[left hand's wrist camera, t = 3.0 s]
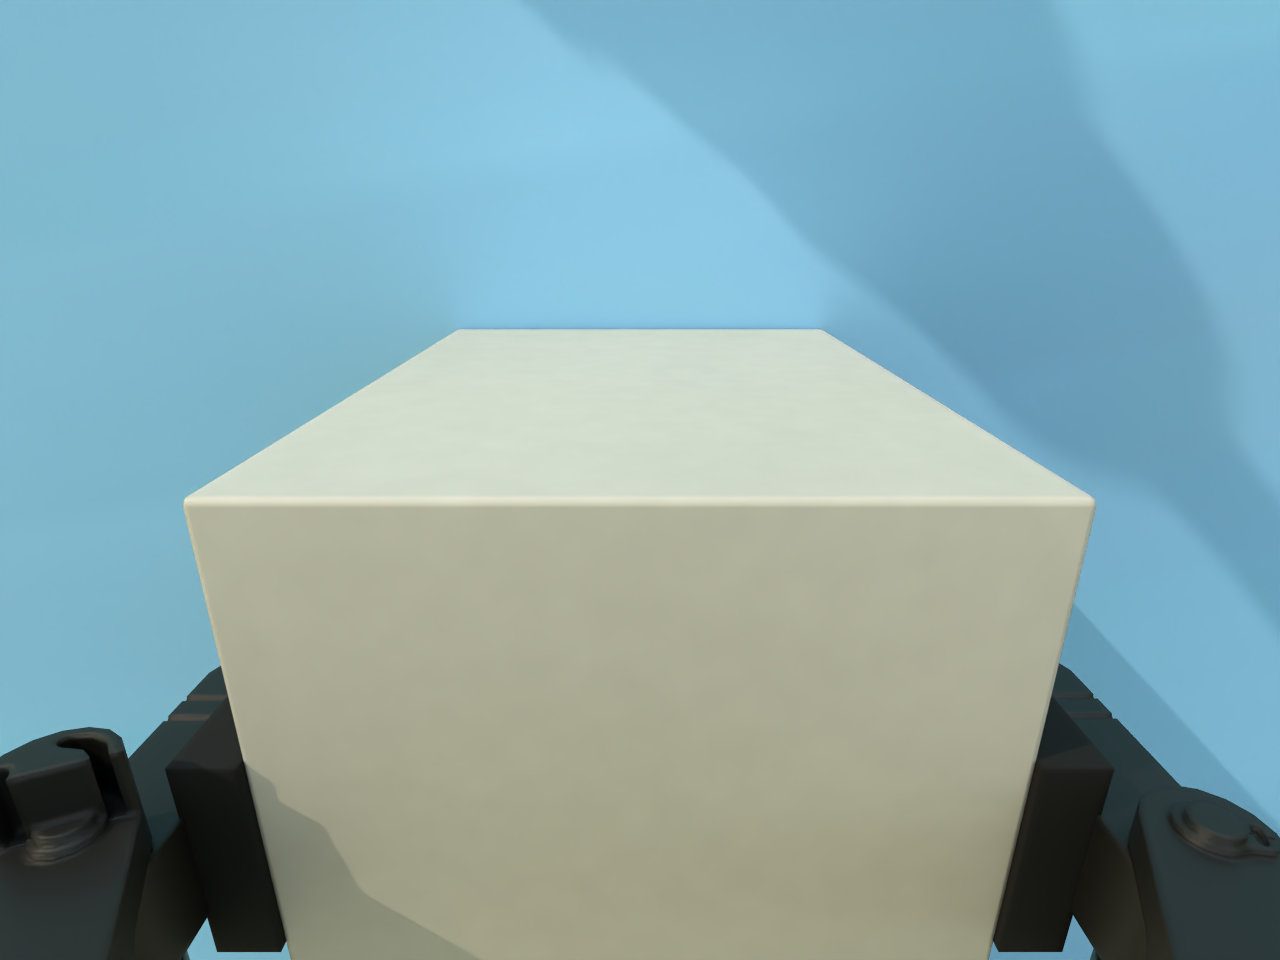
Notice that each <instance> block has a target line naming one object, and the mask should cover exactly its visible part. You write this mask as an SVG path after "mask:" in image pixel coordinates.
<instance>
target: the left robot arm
mask: <svg viewBox="0 0 1280 960" xmlns="http://www.w3.org/2000/svg"><path fill="white" fill-rule="evenodd" d="M168 717H169V718H168V721H163V722H162V724H161V725H160V726H159V727H158V728H157V729H156V730H155V731H154V732H153V733H152V734H151V735H150V736H149V737H148V738H147V739H146V741H145V742H144V743H143V744H142V745H141V746H140V747H139V748H138V749H137V750H136V751H135V752H134V753H133V754H132V755H131V756H130V757H129V759H128V757H127V754H126V750H125V747H124V744H123V741H122V738H121V737H120V736H118V735H117V734H116V733H114V732H113V731H111V730H110V729H101V728H92V727H87V728H80V729H73V730H66V731H61V732H58V733H54V734H51V735H48V736H45V737H42V738H39V739H36V740H33V741H31V742H29V743H26V744H24V745H22V746H20V747H18V748H16V749H14V750H12V751H10V752H8V753H6V754H4V755H2V756H1V757H0V960H190V959H189V955H188V952H187V949H188V948H189V946H190V944H191V943H192V941H193V939H194V938H195V936H196V935H197V933H198V931H199V930H200V928H201V927H202V925H203V923H204V922H205V920H206V918H208V921H209V925H210V928H211V932H212V935H213V939H214V942H215V946H216V949H217V952H281V951H282V949H283V947H284V945H285V943H286V937H285V933H284V929H283V924H282V920H281V916H280V912H279V908H278V903H277V899H276V895H275V891H274V887H273V882H272V878H271V874H270V870H269V865H268V861H267V857H266V853H265V849H264V844H263V840H262V836H261V832H260V828H259V823H258V819H257V815H256V811H255V807H254V802H253V798H252V794H251V790H250V786H249V781H248V777H247V773H246V769H245V765H244V760H243V756H242V752H241V748H240V744H239V739H238V735H237V731H236V727H235V723H234V718H233V714H232V710H231V706H230V702H229V697H228V693H227V689H226V685H225V681H224V676H223V672H222V668H221V666H220V667H218V668H217V669H215V670H213V671H212V672H210V673H209V674H208V675H207V676H206V677H205V678H204V679H203V680H202V681H201V682H200V683H199V684H198V685H197V686H196V688H195V689H194V690H193V691H192V692H191V693H190V694H189V695H188V696H187V701H182V702H181V703H180V704H179V706H178V707H177V708H176V709H175V710H174V711H173V712H172V713H171V714H170V715H169V716H168ZM1073 915H1074V917H1075V919H1076V920H1077V922H1078V923H1079V925H1080V927H1081V928H1082V930H1083V932H1084V933H1085V935H1086V936H1087V938H1088V940H1089V941H1090V943H1091V944H1092V946H1093V948H1094V949H1093V952H1092V955H1091V959H1090V960H1280V838H1279V836H1278V835H1277V834H1276V833H1275V832H1274V831H1273V830H1272V829H1270V828H1269V827H1268V826H1267V825H1265V824H1264V823H1263V822H1262V821H1261V820H1259V819H1258V818H1257V817H1256V816H1254V815H1253V814H1251V813H1249V812H1248V811H1246V810H1244V809H1242V808H1241V807H1239V806H1237V805H1235V804H1233V803H1232V802H1230V801H1228V800H1226V799H1223V798H1221V797H1218V796H1215V795H1212V794H1210V793H1207V792H1204V791H1201V790H1198V789H1193V788H1187V787H1181V786H1180V785H1179V784H1178V783H1177V782H1176V781H1175V780H1174V779H1173V778H1172V777H1171V775H1170V774H1169V773H1168V772H1167V771H1166V770H1165V769H1164V768H1163V767H1162V766H1161V765H1160V764H1159V763H1158V762H1157V761H1156V760H1155V759H1154V758H1153V757H1152V755H1151V754H1150V753H1149V752H1148V751H1147V750H1146V749H1145V748H1144V747H1143V746H1142V745H1141V744H1140V743H1139V742H1138V741H1137V740H1136V739H1135V738H1134V737H1133V735H1132V734H1131V733H1130V732H1129V731H1128V730H1127V729H1126V728H1125V727H1124V726H1123V725H1122V724H1121V723H1120V722H1119V721H1118V720H1117V719H1113V718H1112V713H1111V712H1110V711H1109V710H1108V709H1107V708H1106V707H1105V706H1104V705H1103V704H1102V703H1101V702H1100V701H1099V700H1098V699H1094V698H1093V693H1092V692H1091V691H1090V690H1089V689H1088V688H1087V687H1086V686H1085V685H1084V684H1083V683H1082V682H1081V681H1080V680H1079V679H1078V678H1077V677H1076V675H1075V674H1074V673H1073V672H1072V671H1071V670H1069V669H1067V668H1066V667H1064V666H1063V665H1061V664H1059V665H1058V669H1057V674H1056V678H1055V682H1054V686H1053V690H1052V695H1051V699H1050V703H1049V707H1048V712H1047V716H1046V720H1045V724H1044V728H1043V733H1042V737H1041V741H1040V745H1039V749H1038V754H1037V758H1036V762H1035V766H1034V770H1033V775H1032V779H1031V783H1030V787H1029V792H1028V796H1027V800H1026V804H1025V808H1024V813H1023V817H1022V821H1021V825H1020V829H1019V834H1018V838H1017V842H1016V846H1015V850H1014V855H1013V859H1012V863H1011V867H1010V872H1009V876H1008V880H1007V884H1006V888H1005V893H1004V897H1003V901H1002V905H1001V909H1000V914H999V918H998V922H997V926H996V930H995V935H994V939H993V941H994V944H995V946H996V948H997V950H998V952H1062V951H1063V947H1064V944H1065V940H1066V937H1067V933H1068V930H1069V926H1070V923H1071V919H1072V916H1073Z"/></svg>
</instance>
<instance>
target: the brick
mask: <svg viewBox="0 0 1280 960" xmlns="http://www.w3.org/2000/svg"><path fill="white" fill-rule="evenodd" d="M183 508H184V512H185V517H186V521H187V525H188V529H189V533H190V538H191V542H192V546H193V550H194V554H195V559H196V563H197V567H198V571H199V575H200V580H201V584H202V588H203V592H204V596H205V601H206V605H207V609H208V613H209V617H210V622H211V626H212V630H213V634H214V639H215V643H216V647H217V651H218V655H219V660H220V664H221V668H222V672H223V676H224V681H225V685H226V689H227V693H228V697H229V702H230V706H231V710H232V714H233V718H234V723H235V727H236V731H237V735H238V739H239V744H240V748H241V752H242V756H243V760H244V765H245V769H246V773H247V777H248V781H249V786H250V790H251V794H252V798H253V802H254V807H255V811H256V815H257V819H258V823H259V828H260V832H261V836H262V840H263V844H264V849H265V853H266V857H267V861H268V865H269V870H270V874H271V878H272V882H273V887H274V891H275V895H276V899H277V903H278V908H279V912H280V916H281V920H282V924H283V929H284V933H285V937H286V941H287V945H288V950H289V954H290V958H291V960H989V956H990V952H991V947H992V943H993V939H994V935H995V930H996V926H997V922H998V918H999V914H1000V909H1001V905H1002V901H1003V897H1004V893H1005V888H1006V884H1007V880H1008V876H1009V872H1010V867H1011V863H1012V859H1013V855H1014V850H1015V846H1016V842H1017V838H1018V834H1019V829H1020V825H1021V821H1022V817H1023V813H1024V808H1025V804H1026V800H1027V796H1028V792H1029V787H1030V783H1031V779H1032V775H1033V770H1034V766H1035V762H1036V758H1037V754H1038V749H1039V745H1040V741H1041V737H1042V733H1043V728H1044V724H1045V720H1046V716H1047V712H1048V707H1049V703H1050V699H1051V695H1052V690H1053V686H1054V682H1055V678H1056V674H1057V669H1058V665H1059V661H1060V657H1061V653H1062V648H1063V644H1064V640H1065V636H1066V632H1067V627H1068V623H1069V619H1070V615H1071V610H1072V606H1073V602H1074V598H1075V594H1076V589H1077V585H1078V581H1079V577H1080V573H1081V568H1082V564H1083V560H1084V556H1085V552H1086V547H1087V543H1088V539H1089V535H1090V530H1091V526H1092V522H1093V518H1094V514H1095V509H1096V502H1095V499H1094V498H1093V497H1092V496H1090V495H1089V494H1087V493H1085V492H1084V491H1082V490H1081V489H1079V488H1077V487H1076V486H1074V485H1072V484H1071V483H1069V482H1068V481H1066V480H1064V479H1063V478H1061V477H1059V476H1058V475H1056V474H1055V473H1053V472H1051V471H1050V470H1048V469H1047V468H1045V467H1043V466H1042V465H1040V464H1038V463H1037V462H1035V461H1034V460H1032V459H1030V458H1029V457H1027V456H1025V455H1024V454H1022V453H1021V452H1019V451H1017V450H1016V449H1014V448H1013V447H1011V446H1009V445H1008V444H1006V443H1004V442H1003V441H1001V440H1000V439H998V438H996V437H995V436H993V435H991V434H990V433H988V432H987V431H985V430H983V429H982V428H980V427H979V426H977V425H975V424H974V423H972V422H970V421H969V420H967V419H966V418H964V417H962V416H961V415H959V414H957V413H956V412H954V411H953V410H951V409H949V408H948V407H946V406H945V405H943V404H941V403H940V402H938V401H936V400H935V399H933V398H932V397H930V396H928V395H927V394H925V393H923V392H922V391H920V390H919V389H917V388H915V387H914V386H912V385H911V384H909V383H907V382H906V381H904V380H902V379H901V378H899V377H898V376H896V375H894V374H893V373H891V372H889V371H888V370H886V369H885V368H883V367H881V366H880V365H878V364H876V363H875V362H873V361H872V360H870V359H868V358H867V357H865V356H864V355H862V354H860V353H859V352H857V351H855V350H854V349H852V348H851V347H849V346H847V345H846V344H844V343H842V342H841V341H839V340H838V339H836V338H834V337H833V336H831V335H830V334H828V333H826V332H825V331H823V330H821V329H459V330H457V331H455V332H453V333H452V334H450V335H449V336H447V337H445V338H444V339H442V340H440V341H439V342H437V343H436V344H434V345H432V346H431V347H429V348H427V349H426V350H424V351H423V352H421V353H419V354H418V355H416V356H414V357H413V358H411V359H410V360H408V361H406V362H405V363H403V364H402V365H400V366H398V367H397V368H395V369H393V370H392V371H390V372H389V373H387V374H385V375H384V376H382V377H380V378H379V379H377V380H376V381H374V382H372V383H371V384H369V385H367V386H366V387H364V388H363V389H361V390H359V391H358V392H356V393H354V394H353V395H351V396H350V397H348V398H346V399H345V400H343V401H342V402H340V403H338V404H337V405H335V406H333V407H332V408H330V409H329V410H327V411H325V412H324V413H322V414H320V415H319V416H317V417H316V418H314V419H312V420H311V421H309V422H307V423H306V424H304V425H303V426H301V427H299V428H298V429H296V430H295V431H293V432H291V433H290V434H288V435H286V436H285V437H283V438H282V439H280V440H278V441H277V442H275V443H273V444H272V445H270V446H269V447H267V448H265V449H264V450H262V451H260V452H259V453H257V454H256V455H254V456H252V457H251V458H249V459H247V460H246V461H244V462H243V463H241V464H239V465H238V466H236V467H235V468H233V469H231V470H230V471H228V472H226V473H225V474H223V475H222V476H220V477H218V478H217V479H215V480H213V481H212V482H210V483H209V484H207V485H205V486H204V487H202V488H200V489H199V490H197V491H196V492H194V493H192V494H191V495H189V496H188V497H186V498H185V500H184V504H183Z"/></svg>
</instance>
